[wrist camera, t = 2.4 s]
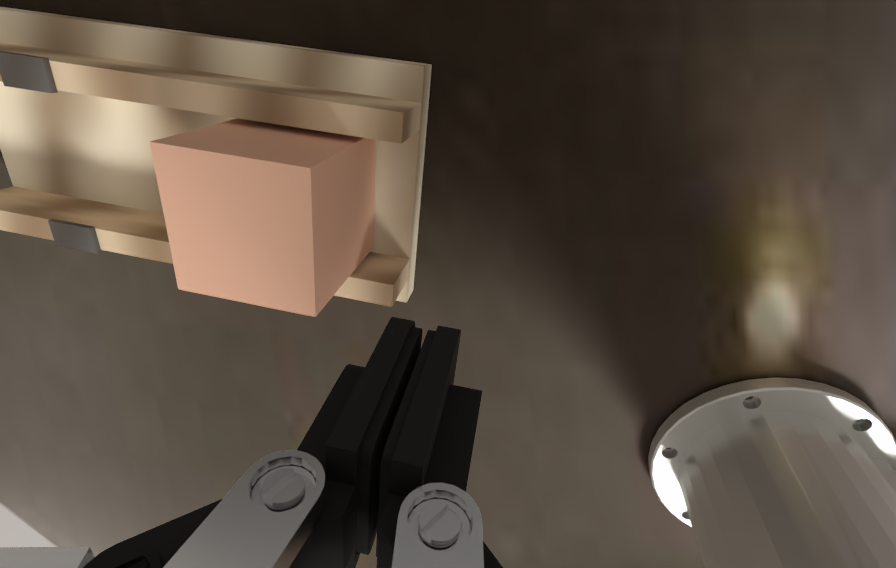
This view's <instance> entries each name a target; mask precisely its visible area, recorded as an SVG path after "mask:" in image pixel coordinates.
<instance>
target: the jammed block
mask: <svg viewBox="0 0 896 568" xmlns="http://www.w3.org/2000/svg"><path fill="white" fill-rule="evenodd" d="M150 147H151V152H152V157H153V162H154V167H155V172H156V177H157V183H158V188H159V193H160V198H161V203H162V208H163V213H164V218H165V223H166V229H167V234H168V239H169V244H170V249H171V254H172V259H173V264H174V269H175V275H176V280H177V285H178V289H180V290H185V291H190V292H195V293H200V294H205V295H210V296H215V297H219V298H224V299H229V300H234V301H239V302H244V303H249V304H254V305H259V306H264V307H269V308H274V309H279V310H283V311H288V312H293V313H298V314H303V315H308V316H313V317H316V316H317V315H318V313H319V312H320V311H321V310H322V309H323V307H324V306H325V305H326V304H327V303H328V301H329V300H330V299H331V298H332V297H333V295H334V294H335V293H336V292H337V291H338V289H339V288H340V287H341V286H342V285H343V283H344V282H345V281H346V280H347V279H348V277H349V276H350V275H351V274H352V273H353V271H354V270H355V269H356V268H357V267H358V265H359V264H360V263H361V262H362V261H363V259H364V258H365V257H366V256H367V255H368V253H369V252H370V251H371V250H372V248H373V231H374V201H375V171H376V140H375V139H369V138H362V137H356V136H349V135H343V134H336V133H330V132H323V131H317V130H310V129H304V128H298V127H291V126H285V125H278V124H272V123H265V122H259V121H252V120H246V119H239V118H236V119H232V120H229V121H225V122H221V123H217V124H214V125H210V126H206V127H202V128H199V129H195V130H191V131H188V132H184V133H180V134H176V135H173V136H169V137H165V138H161V139H158V140H154V141H150Z"/></svg>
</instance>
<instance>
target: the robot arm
mask: <svg viewBox="0 0 896 568" xmlns="http://www.w3.org/2000/svg"><path fill="white" fill-rule="evenodd" d="M460 334H461V330H459V329H454V328H448V327H443V326H438V327H437V330H436V331H431V330H428V332H427V335H426V337H425V340H424V343H423V345H422V348H421V340H422V329H421V328H416V327H415V322H414V321H411V320H406V319H401V318H395V317H392V318H391V319H390V321H389V322H388V324H387V326H386V328H385V330H384V332H383V334H382V336H381V338H380V340H379V342H378V344H377V346H376V348H375V350H374V351H373V353H372V355H371V357H370V359H369V361H368V363H367V365H366V367H360V366H355V365H350V364H349V365H347V366H346V367H345V368H344V370H343V371H342V373H341V375H340V377H339V378H338V380H337V382H336V384H335V385H334V387H333V389H332V391H331V392H330V394H329V396H328V397H327V399H326V401H325V403H324V404H323V406H322V408H321V410H320V411H319V413H318V415H317V417H316V418H315V420H314V422H313V424H312V425H311V427H310V429H309V430H308V432H307V434H306V436H305V437H304V439H303V441H302V443H301V444H300V446H299V448H298V450H284V451H279V452H276V453H272V454H269V455H268V456H266V457H264V458H262V459H260V460H258V461H257V462H256V463H255V464H254V465H253V466H252V467H251V468H249V469H248V471H247V472H246V473H245V474H244V475H243V476H242V477H241V479H240V480H239V481H238V482H237V483H236V484H235V486H234V487H233V488H232V489H231V490H230V491H229V492H228V494H227V495H226V496H225V497H224V498H223V499H221V500H219V501H216V502H214V503H212V504H209V505H207V506H205V507H202V508H200V509H198V510H195V511H193V512H191V513H188V514H186V515H184V516H181V517H179V518H176V519H174V520H172V521H169V522H167V523H165V524H162V525H160V526H158V527H155V528H153V529H151V530H148V531H146V532H144V533H141V534H139V535H137V536H134V537H132V538H130V539H127V540H125V541H122V542H120V543H118V544H116V545H114V546H112V547H110V548H108V549H106V550H105V551H103V552H101V553H92V551H91V549H90V547H24V548H22V547H20V548H0V568H355V567H356V564H357V561H358V558H359V555H360V553H363V554H367V555H369V553H370V551H371V548H372V545H373V542H374V539H375V536H376V533H377V546H376V557H377V568H503V567H502V566H501V564H500V563H499V562H498V560H497V559H496V558H495V556H494V555H493V554H492V552H491V551H490V550H489V548H488V547H487V546H486V544H485V543H484V542H483V530H482V519H481V514H480V510H479V508H478V507H477V505H476V503H475V501H474V500H473V499H472V498H471V497H470V496H469V495H468V494H467V493H466V486H467V480H468V474H469V468H470V462H471V456H472V450H473V444H474V438H475V431H476V425H477V419H478V413H479V407H480V401H481V395H482V391H480V390H475V389H470V388H465V387H460V386H455V385H453V383H454V376H455V369H456V362H457V355H458V348H459V341H460ZM420 350H421V351H420ZM648 461H649V472H650V476H651V480H652V484H653V488H654V490H655V492H656V494H657V496H658V498H659V500H660V501H661V502H662V503H663V504H664V506H665V507H666V508H667V509H668V510H669V512H671V513H672V514H673V515H674V516H675V517H677V518H678V519H679V520H681V521H682V522H684V523H686V524H688V525H689V526H691V527H692V528H693V532H694V535H695V539H696V542H697V546H698V549H699V553H700V556H701V560H702V563H703V566H704V568H896V441H895V439H894V436H893V434H892V432H891V431H890V430H889V429H888V427H887V426H886V425H885V424H884V422H883V421H882V420H881V419H880V417H879V416H878V415H877V414H876V413H875V412H874V411H873V410H872V409H871V408H870V407H869V406H868V405H866V404H865V403H864V402H863V401H861V400H860V399H858V398H856V397H854V396H853V395H851V394H849V393H848V392H846V391H843V390H841V389H838V388H835V387H833V386H830V385H827V384H824V383H819V382H814V381H809V380H804V379H796V378H776V377H774V378H762V379H751V380H745V381H741V382H736V383H732V384H727V385H724V386H721V387H718V388H716V389H713V390H710V391H708V392H705V393H703V394H701V395H699V396H697V397H695V398H694V399H692V400H690V401H688V402H686V403H685V404H683V405H682V406H681V407H680V408H678V409H677V410H676V411H675V412H673V413H672V414H671V415H670V416H669V417H668V418H667V419H666V420H665V422H664V423H663V424H662V425H661V426H660V427H659V429H658V431H657V433H656V434H655V436H654V438H653V440H652V442H651V446H650V451H649V455H648Z"/></svg>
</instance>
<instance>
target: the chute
mask: <svg viewBox="0 0 896 568" xmlns="http://www.w3.org/2000/svg"><path fill="white" fill-rule="evenodd" d="M431 69H432V64H425V63H417V62H410V61H402V60H395V59H388V58H380V57H373V56H365V55H358V54H350V53H343V52H335V51H328V50H320V49H313V48H305V47H298V46H291V45H283V44H276V43H268V42H261V41H253V40H246V39H238V38H231V37H223V36H216V35H208V34H201V33H194V32H186V31H179V30H171V29H164V28H156V27H149V26H141V25H134V24H126V23H119V22H111V21H104V20H96V19H89V18H82V17H74V16H67V15H59V14H52V13H44V12H37V11H29V10H22V9H14V8H7V7H0V150H1V152H2V155H3V158H4V161H5V164H6V167H7V170H8V172H9V175H10V178H11V181H12V184H13V186H12V187H9V188H5V189H2V190H0V230H4V231H9V232H14V233H19V234H24V235H29V236H34V237H39V238H45V239H50V240H54V241H55V244H56V246H61V247H66V248H71V249H76V250H81V251H86V252H91V253H96V254H97V253H99V252H101V250H106V251H111V252H116V253H121V254H126V255H131V256H136V257H141V258H146V259H151V260H156V261H162V262H167V263H172V264H173V259H172V254H171V249H170V244H169V239H168V234H167V229H166V223H165V218H164V213H163V208H162V203H161V198H160V193H159V188H158V183H157V177H156V172H155V167H154V162H153V157H152V152H151V147H150V141H154V140H158V139H161V138H165V137H169V136H173V135H176V134H180V133H184V132H188V131H191V130H195V129H199V128H202V127H206V126H210V125H214V124H217V123H221V122H225V121H229V120H232V119H236V118H239V119H246V120H252V121H259V122H265V123H272V124H278V125H285V126H291V127H298V128H304V129H310V130H317V131H323V132H330V133H336V134H343V135H349V136H356V137H362V138H369V139H375V140H376V171H375V201H374V231H373V248H372V250H371V251H370V252H369V253H368V255H367V256H366V257H365V258H364V259H363V261H362V262H361V263H360V264H359V265H358V267H357V268H356V269H355V270H354V271H353V273H352V274H351V275H350V276H349V277H348V279H347V280H346V281H345V282H344V283H343V285H342V286H341V287H340V288H339V289H338V291H337V292H336V293H335V294H334V295H335V296H340V297H345V298H350V299H355V300H360V301H365V302H370V303H375V304H380V305H385V306H391V307H392V306H393V304H394V303H395V301H401V302H407V301H408V299H409V297H410V295H411V293H412V291H413V287H414V275H415V263H416V251H417V239H418V227H419V214H420V202H421V190H422V178H423V166H424V154H425V142H426V130H427V117H428V105H429V93H430V81H431Z"/></svg>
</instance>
